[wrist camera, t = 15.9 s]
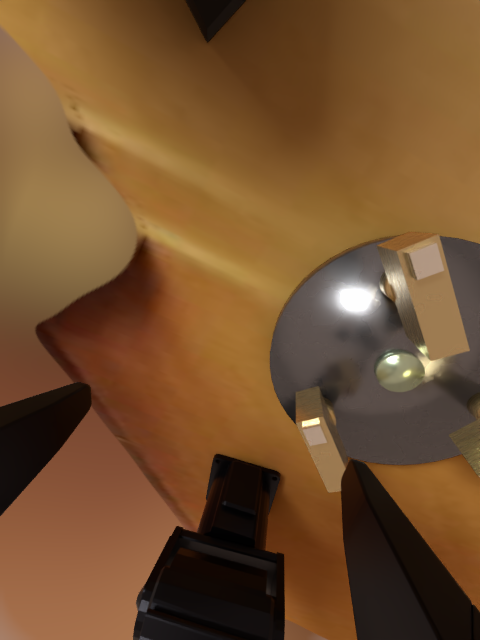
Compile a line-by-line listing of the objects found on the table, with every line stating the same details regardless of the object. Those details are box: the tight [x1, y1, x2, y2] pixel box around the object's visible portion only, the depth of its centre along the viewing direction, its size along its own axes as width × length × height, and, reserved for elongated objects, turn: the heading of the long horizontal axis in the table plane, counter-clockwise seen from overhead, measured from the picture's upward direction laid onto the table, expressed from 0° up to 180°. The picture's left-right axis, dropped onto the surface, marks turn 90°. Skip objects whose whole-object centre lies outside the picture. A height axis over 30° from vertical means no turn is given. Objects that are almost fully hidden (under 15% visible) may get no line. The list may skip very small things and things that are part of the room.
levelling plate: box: [270, 235, 480, 465], centre depth 18 cm, size 17×17×2 cm
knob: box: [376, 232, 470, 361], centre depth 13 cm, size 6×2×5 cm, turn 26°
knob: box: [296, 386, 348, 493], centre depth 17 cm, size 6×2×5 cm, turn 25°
